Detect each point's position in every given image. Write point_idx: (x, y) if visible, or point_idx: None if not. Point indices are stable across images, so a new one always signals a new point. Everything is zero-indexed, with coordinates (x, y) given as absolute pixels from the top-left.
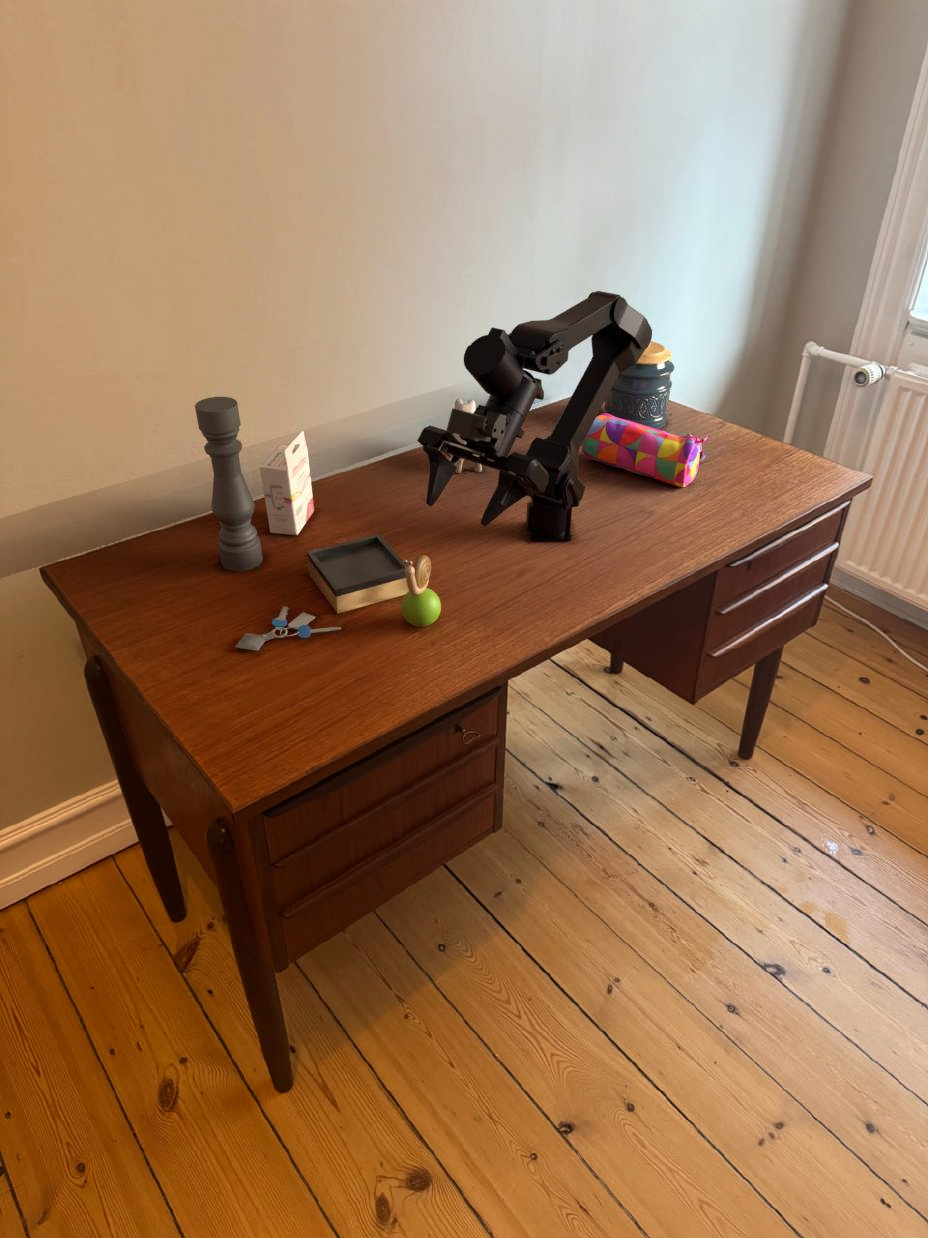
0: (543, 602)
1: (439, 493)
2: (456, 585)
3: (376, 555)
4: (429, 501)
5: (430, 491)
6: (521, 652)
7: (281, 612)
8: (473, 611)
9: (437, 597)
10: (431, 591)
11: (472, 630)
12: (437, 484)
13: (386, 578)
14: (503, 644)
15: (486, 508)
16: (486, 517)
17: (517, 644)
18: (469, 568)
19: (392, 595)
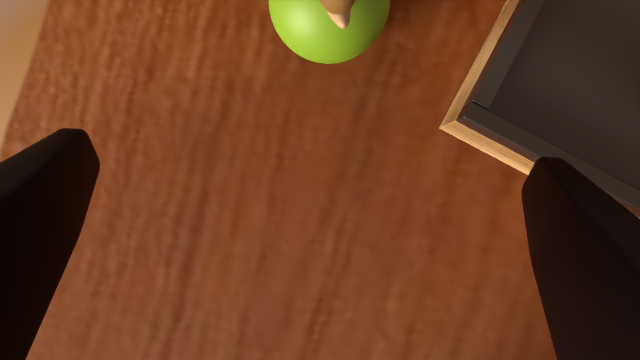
0: (110, 294)
1: (548, 294)
2: (357, 230)
3: (629, 152)
4: (543, 167)
5: (597, 205)
6: (42, 65)
7: None
8: (245, 149)
9: (285, 19)
10: (304, 6)
11: (198, 74)
12: (607, 304)
13: (503, 37)
14: (98, 68)
15: (11, 189)
16: (23, 152)
17: (68, 88)
18: (378, 327)
19: (470, 71)
